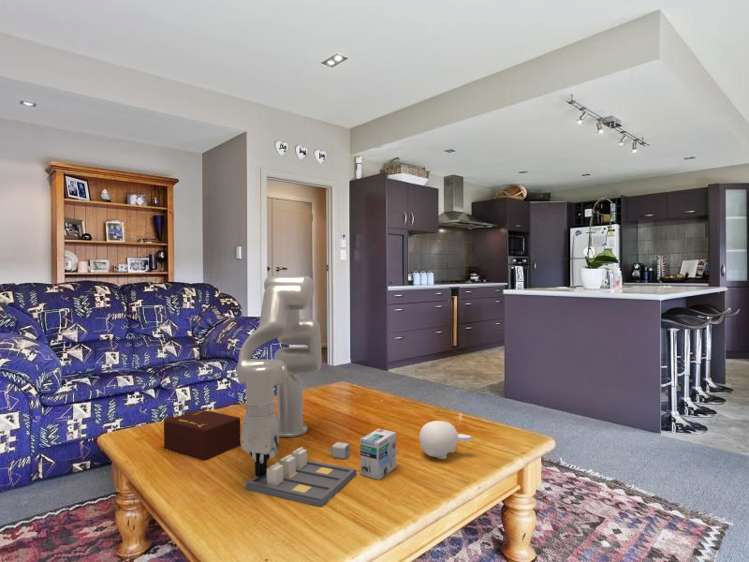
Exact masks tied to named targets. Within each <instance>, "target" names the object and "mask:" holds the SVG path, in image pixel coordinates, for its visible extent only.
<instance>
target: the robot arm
mask: <svg viewBox="0 0 749 562" xmlns="http://www.w3.org/2000/svg"><path fill="white" fill-rule="evenodd" d="M263 287H264V293H263V298H262V305H261V311H260V316H259V317H260V318H259V325H258V327H257V328H256V329H255V330H254V331H253V332H252V333H250V335H249V336H248V337H247V338H246V339H245V341H244V342H243V344H242V346H241V347H240V351H239V354H238V355H239V356H238V361H237V366H236V379H237V381H238V383H239V384H240V385H243V386H245V388H246V389H245V390H246V391H245V392H246V395H245V396H246V397H245V398H246V401H245V402H246V403H244V405H243V406H244V407H243V408H245V409H246V413H245V414H244V415H243V418H242V419H243V420H242V425H241V432H240V446H241V449H242V450H243V451H244V452H245V453H248V454H249V455H250V456H251V457H252V461H253V462H254V477H255V476H256V477H262V476H264V475H265V474H266V473H267V468H268V461H269V460H270V458H275V457H277V456H279V453H278V452H279V451H278V449H279V447H280V437H281V438H294V437H299V436H301V435H304V434H306V433H307V431H308V426H307V425H306V424H304V399H303V398H304V393H303V391H304V385H303V381H302V379H301V378H300V377H299V375H297V374H314V373H315V374H316V373H318V372H319V371H320V370H321V368H322V363H323V362H322V360H323V359H322V334H321V326H320V323H319V322H318V320H316V319H315V318H314V319H313V318H301V317H300V310H305V309H307V308H308V307H309V304H310V302H311V300H312V298H313V296H314V294H315V293H314V292H315V282H314V280H313V279H312V278H311V277H310V276H308V275H273V276H269V277H267V278H265V280H264V283H263ZM274 339H277V341H278V342H279V344H281V345H286V347H285V346H284V347H281V348H279V349H277V350H276V352H274V356H273V359H261V358H260V359H254V358H253V359H252V356H253V354H254V352H255V351H256V350H257V349H258V348H259V347H260V346H262V345H264V344H266V343H267V342H270V341H273V340H274ZM290 346H291V347H290ZM300 346H301V347H300ZM303 346H304V347H303ZM305 346H307V347H305ZM275 387H276V410H277V411H276V413H275Z"/></svg>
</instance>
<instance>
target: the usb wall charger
mask: <svg viewBox="0 0 749 562" xmlns="http://www.w3.org/2000/svg"><path fill="white" fill-rule="evenodd" d="M326 452H329V453H332V458H334V459H342V460H346V459H347V458H349V456H351V444H350V443H348V442H347V443H346V442H339V441H336V442H335V443H334V444H333V445H332V446H329V448H327V449H326Z"/></svg>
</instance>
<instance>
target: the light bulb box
mask: <svg viewBox="0 0 749 562" xmlns="http://www.w3.org/2000/svg"><path fill="white" fill-rule="evenodd" d="M359 441H360V443H359V446H360V447H359V448H360V451H359V452H360V454H359V455H360V457H359V459H360V475H361V476H364V477H367V478H370V479H374V480H377V481H378V480H379V481H380V480H381V479H382V478H384V477H385V476H387V475H388V474H389V473H390V472H392V471H394V470H395V469H396V468H397V432H395V431H391V430H386V429H382V428H377V429H375V430H374V431H372V432H370V433H368V434H366V435H364V436H363V437H361V438H360V439H359Z"/></svg>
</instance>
